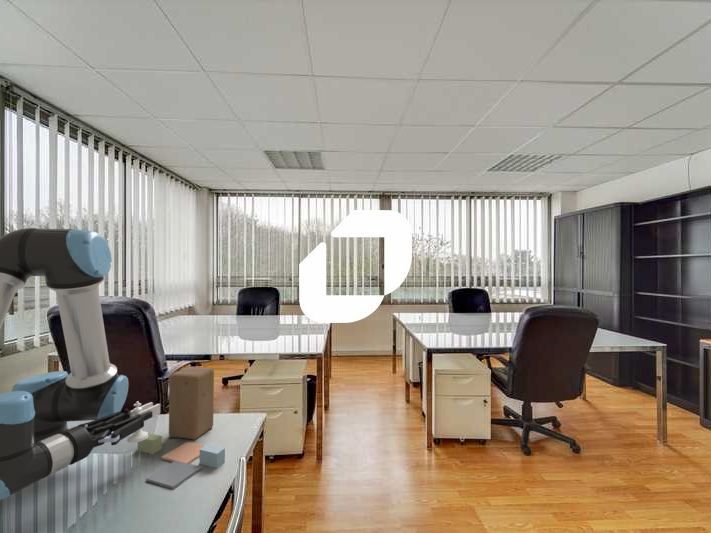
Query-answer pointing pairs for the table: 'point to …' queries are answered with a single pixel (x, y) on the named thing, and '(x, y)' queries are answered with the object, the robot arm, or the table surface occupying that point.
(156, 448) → the brick olive
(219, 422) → the table surface
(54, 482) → the table surface
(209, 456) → the brick blue
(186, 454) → the pad terracotta
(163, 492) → the table surface
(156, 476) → the pad slate
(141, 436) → the chess piece
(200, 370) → the wooden block
